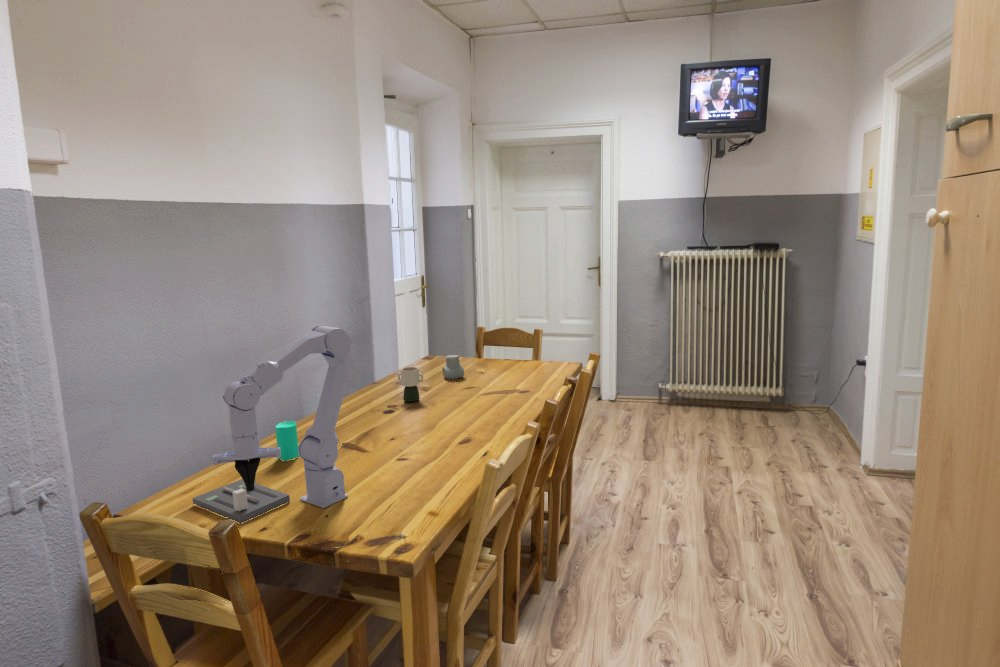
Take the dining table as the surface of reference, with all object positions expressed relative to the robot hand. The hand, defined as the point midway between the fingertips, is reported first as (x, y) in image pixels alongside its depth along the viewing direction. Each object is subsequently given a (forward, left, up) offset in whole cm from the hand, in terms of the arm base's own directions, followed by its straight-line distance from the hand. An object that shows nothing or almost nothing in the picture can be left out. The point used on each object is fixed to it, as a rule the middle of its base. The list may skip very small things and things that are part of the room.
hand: (250, 489), depth 149 cm
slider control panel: (+12, -5, -8) cm, 15 cm away
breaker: (+15, -9, -6) cm, 18 cm away
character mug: (+38, -96, -8) cm, 103 cm away
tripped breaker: (+5, 0, -6) cm, 8 cm away
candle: (+29, -32, -9) cm, 44 cm away
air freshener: (+47, -133, -9) cm, 141 cm away
